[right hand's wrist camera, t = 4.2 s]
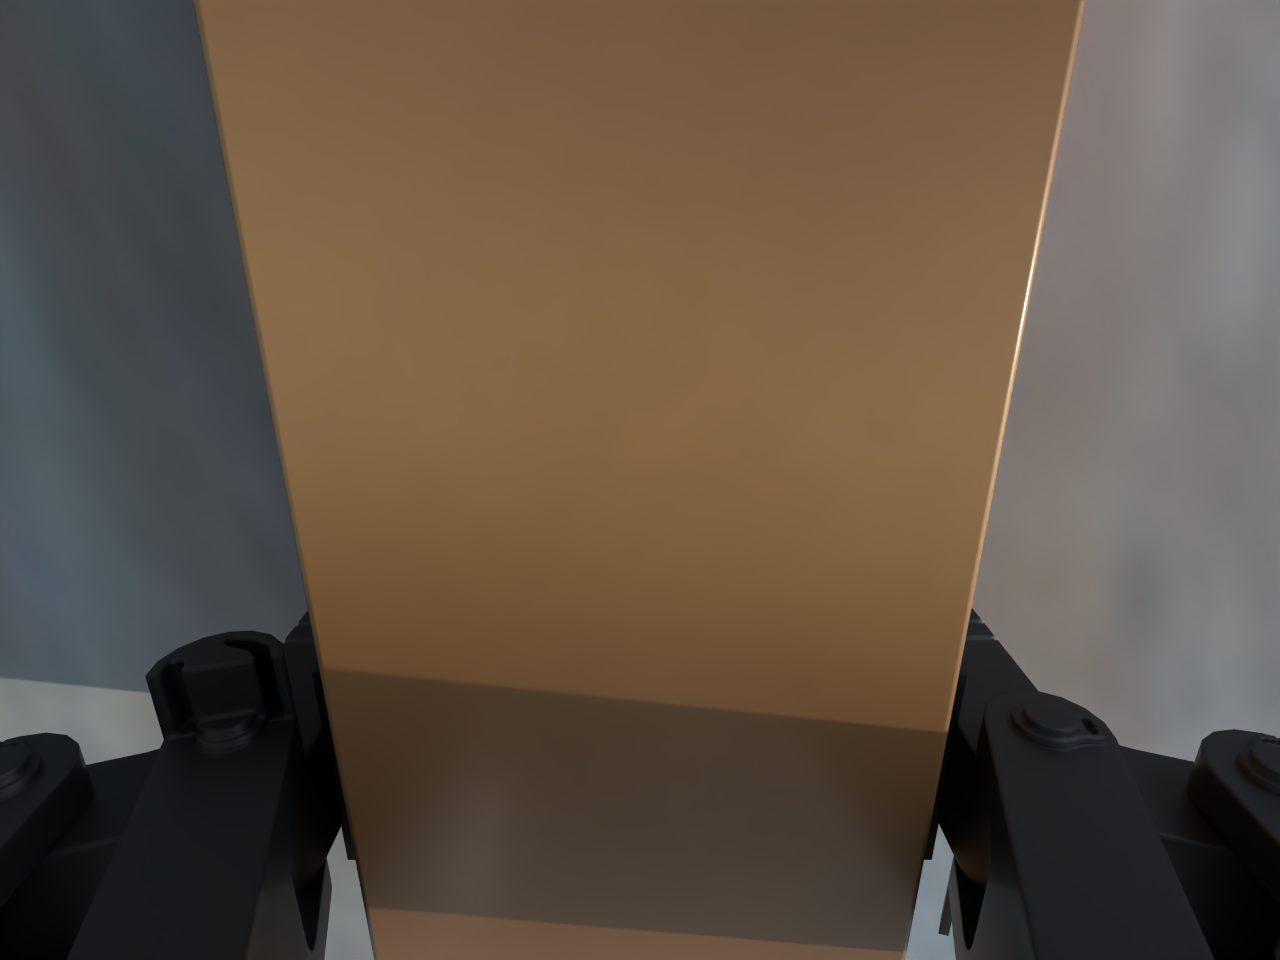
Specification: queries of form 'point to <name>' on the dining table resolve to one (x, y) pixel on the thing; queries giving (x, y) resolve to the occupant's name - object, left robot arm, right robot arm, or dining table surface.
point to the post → (639, 439)
